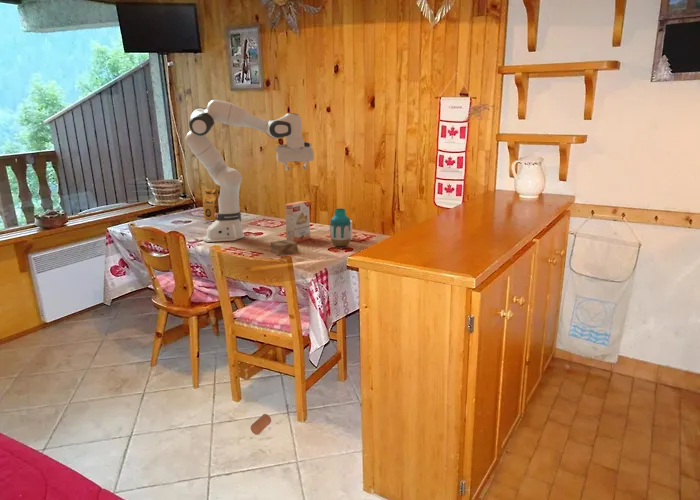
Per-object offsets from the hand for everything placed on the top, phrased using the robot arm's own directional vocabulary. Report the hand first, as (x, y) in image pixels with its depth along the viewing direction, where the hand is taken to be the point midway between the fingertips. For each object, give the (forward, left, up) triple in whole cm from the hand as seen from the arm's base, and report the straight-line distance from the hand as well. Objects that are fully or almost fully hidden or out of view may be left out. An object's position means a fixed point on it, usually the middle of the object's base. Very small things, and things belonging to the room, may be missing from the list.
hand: (296, 169), depth 279 cm
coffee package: (-40, +64, -37) cm, 84 cm away
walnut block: (-16, -32, -37) cm, 52 cm away
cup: (+19, -19, -37) cm, 46 cm away
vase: (+14, -32, -37) cm, 51 cm away
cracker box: (-3, -11, -37) cm, 39 cm away
